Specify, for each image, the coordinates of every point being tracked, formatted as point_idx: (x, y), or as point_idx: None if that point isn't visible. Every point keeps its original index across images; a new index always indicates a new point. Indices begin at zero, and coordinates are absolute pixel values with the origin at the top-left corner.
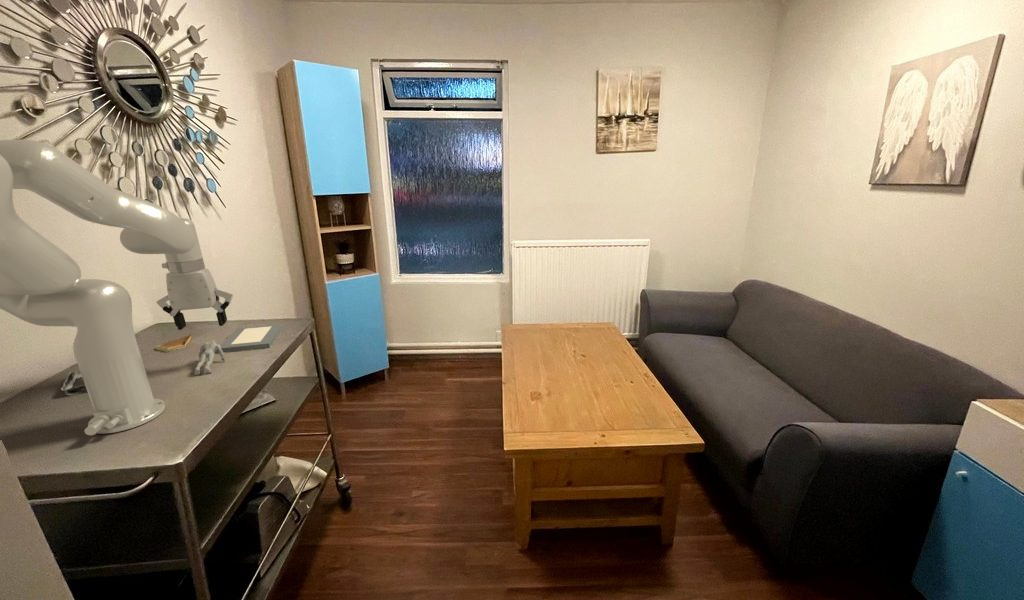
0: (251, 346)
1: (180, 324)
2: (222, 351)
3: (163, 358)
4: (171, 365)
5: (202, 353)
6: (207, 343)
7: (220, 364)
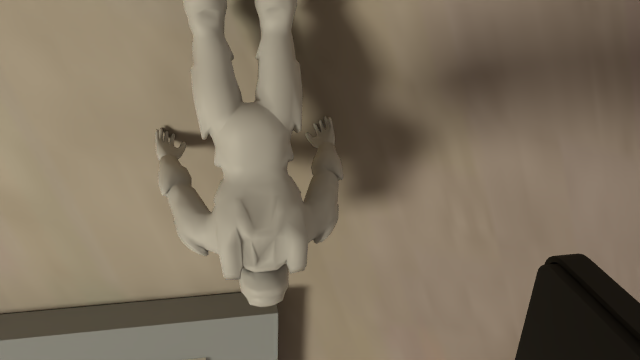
0: (39, 328)
1: (589, 319)
2: (159, 185)
3: None
4: (504, 158)
5: (315, 174)
6: (280, 241)
7: (172, 90)
